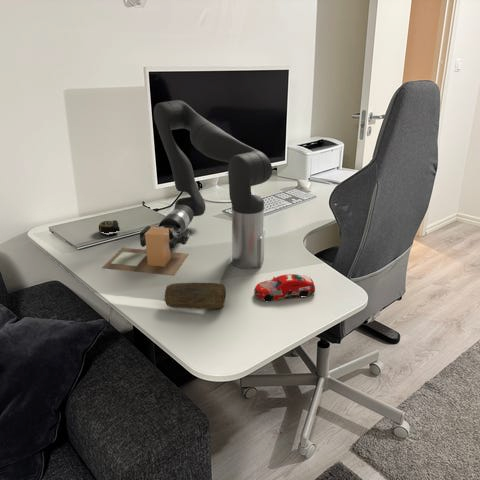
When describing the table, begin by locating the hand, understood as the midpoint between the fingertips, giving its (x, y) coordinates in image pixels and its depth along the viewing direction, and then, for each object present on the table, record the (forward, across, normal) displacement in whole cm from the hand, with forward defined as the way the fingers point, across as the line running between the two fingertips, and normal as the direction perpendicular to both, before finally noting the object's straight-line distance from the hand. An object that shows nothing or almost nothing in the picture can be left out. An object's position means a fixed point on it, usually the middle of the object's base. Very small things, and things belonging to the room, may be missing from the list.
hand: (156, 245), depth 132 cm
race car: (+7, +38, +8) cm, 39 cm away
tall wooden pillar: (-1, 0, +6) cm, 6 cm away
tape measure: (-22, -26, +8) cm, 35 cm away
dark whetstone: (+17, +17, +8) cm, 25 cm away
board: (-1, -4, +8) cm, 9 cm away
